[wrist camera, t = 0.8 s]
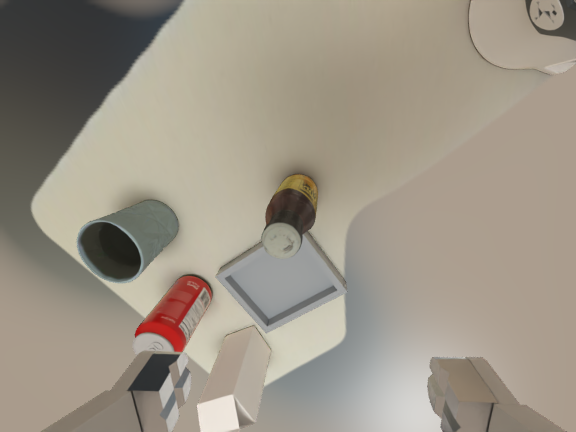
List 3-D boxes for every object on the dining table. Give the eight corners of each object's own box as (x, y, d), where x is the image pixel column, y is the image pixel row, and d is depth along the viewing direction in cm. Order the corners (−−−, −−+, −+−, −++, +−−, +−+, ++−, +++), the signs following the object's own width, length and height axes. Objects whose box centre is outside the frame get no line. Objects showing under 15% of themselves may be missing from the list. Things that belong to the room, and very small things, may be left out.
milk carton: (225, 335, 60) (185, 431, 42) (254, 324, 58) (224, 420, 40) (243, 358, 62) (211, 460, 44) (271, 349, 60) (250, 451, 42)
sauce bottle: (321, 205, 47) (319, 270, 29) (284, 211, 48) (260, 278, 30) (314, 166, 45) (307, 210, 26) (275, 173, 46) (244, 220, 28)
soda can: (221, 292, 56) (188, 354, 42) (197, 312, 58) (158, 377, 45) (191, 265, 54) (146, 321, 41) (167, 287, 57) (118, 347, 43)
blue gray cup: (180, 251, 53) (143, 290, 42) (129, 240, 54) (79, 275, 43) (182, 201, 50) (142, 229, 39) (127, 189, 50) (71, 214, 39)
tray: (298, 218, 48) (296, 225, 46) (346, 282, 52) (347, 292, 49) (220, 267, 54) (215, 276, 51) (268, 322, 57) (266, 333, 54)
